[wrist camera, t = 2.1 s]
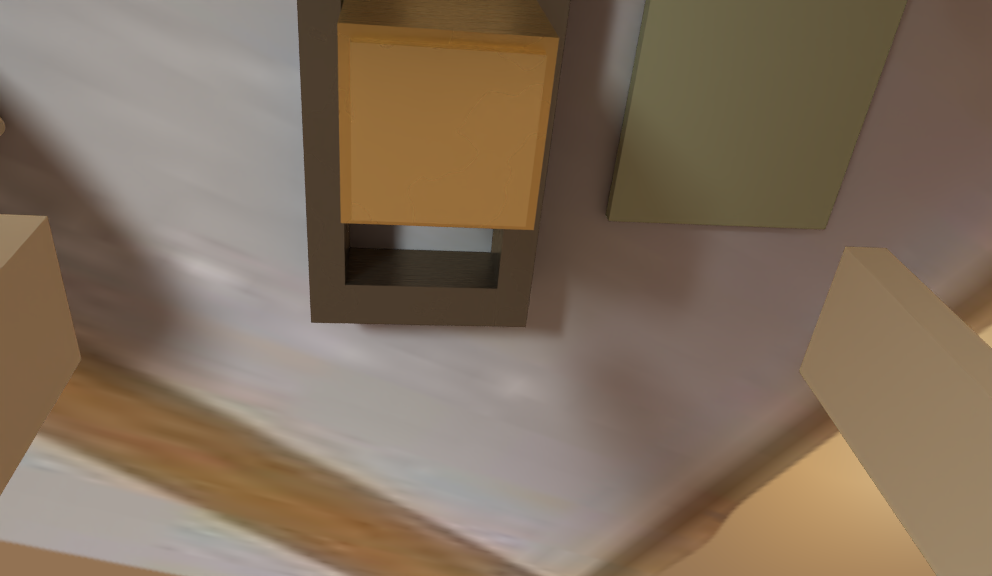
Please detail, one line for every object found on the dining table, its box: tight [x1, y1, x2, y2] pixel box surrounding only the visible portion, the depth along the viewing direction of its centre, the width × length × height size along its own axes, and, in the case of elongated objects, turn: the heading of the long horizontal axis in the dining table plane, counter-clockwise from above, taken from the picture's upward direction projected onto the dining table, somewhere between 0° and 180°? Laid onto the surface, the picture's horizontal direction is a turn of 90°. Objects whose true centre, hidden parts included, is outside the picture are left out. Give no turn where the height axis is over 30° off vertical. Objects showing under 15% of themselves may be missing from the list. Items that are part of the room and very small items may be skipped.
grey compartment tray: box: [297, 0, 570, 327], centre depth 28 cm, size 24×9×3 cm, turn 175°
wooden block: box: [337, 0, 559, 230], centre depth 24 cm, size 5×5×12 cm
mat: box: [606, 0, 907, 229], centre depth 31 cm, size 14×10×1 cm
